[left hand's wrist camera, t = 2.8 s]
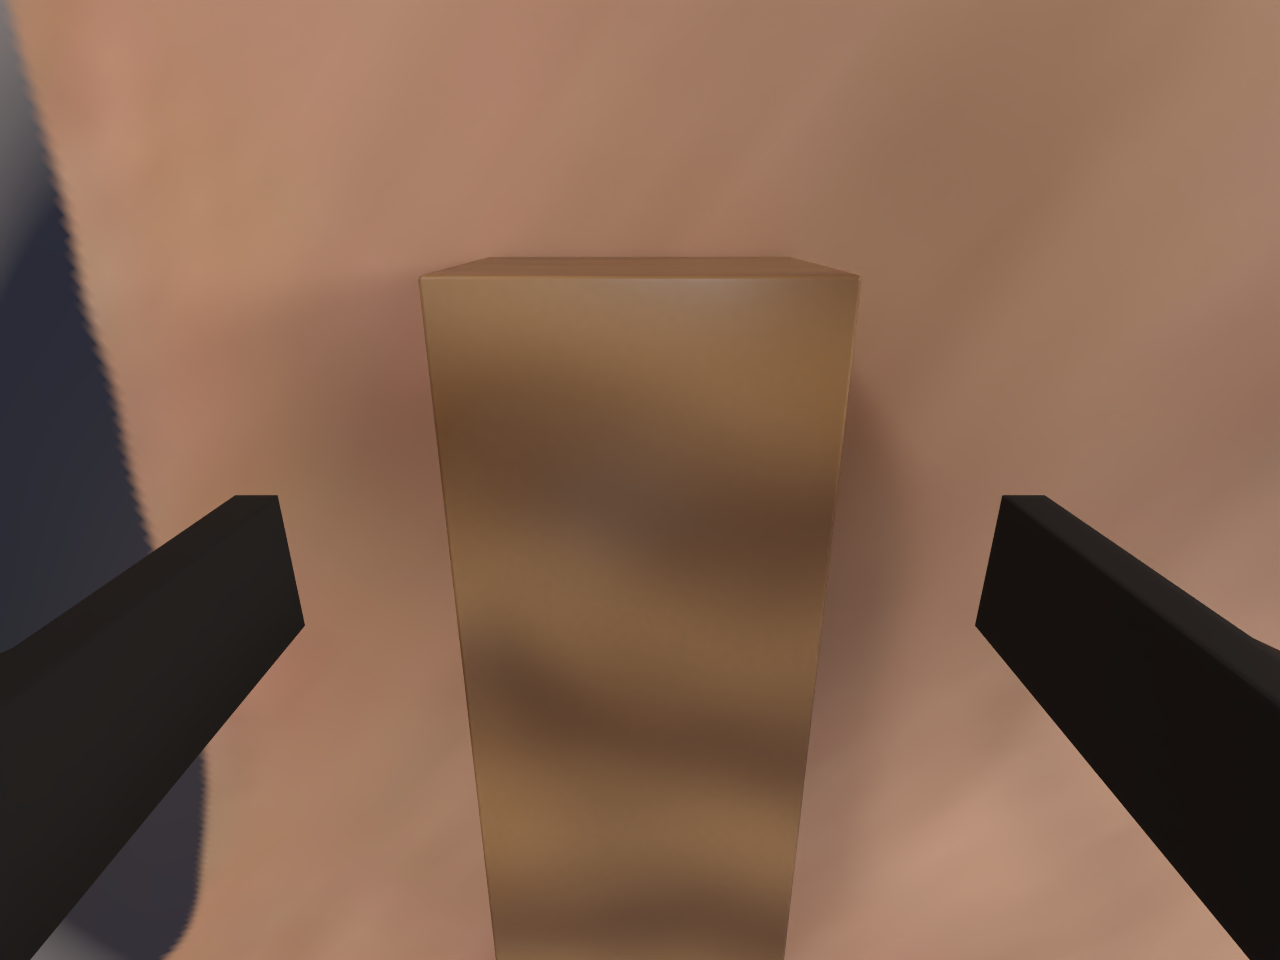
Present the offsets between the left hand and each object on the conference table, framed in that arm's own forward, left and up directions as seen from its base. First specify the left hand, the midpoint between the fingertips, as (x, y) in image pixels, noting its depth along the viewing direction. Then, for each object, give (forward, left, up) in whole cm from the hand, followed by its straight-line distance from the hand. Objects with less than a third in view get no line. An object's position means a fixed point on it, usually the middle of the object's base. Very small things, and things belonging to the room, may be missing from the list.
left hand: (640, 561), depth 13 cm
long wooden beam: (-21, +23, -12) cm, 33 cm away
